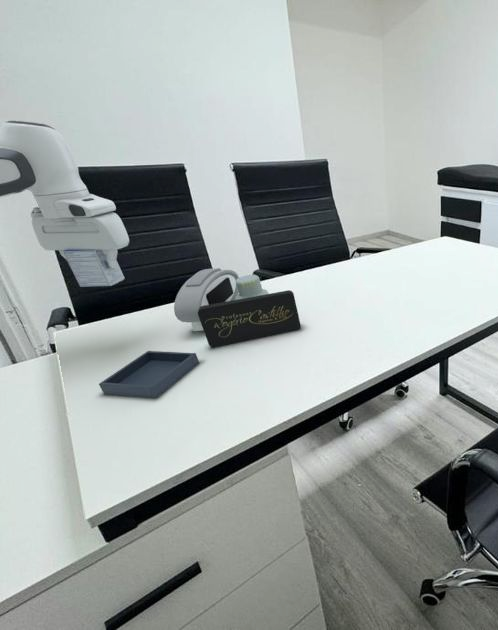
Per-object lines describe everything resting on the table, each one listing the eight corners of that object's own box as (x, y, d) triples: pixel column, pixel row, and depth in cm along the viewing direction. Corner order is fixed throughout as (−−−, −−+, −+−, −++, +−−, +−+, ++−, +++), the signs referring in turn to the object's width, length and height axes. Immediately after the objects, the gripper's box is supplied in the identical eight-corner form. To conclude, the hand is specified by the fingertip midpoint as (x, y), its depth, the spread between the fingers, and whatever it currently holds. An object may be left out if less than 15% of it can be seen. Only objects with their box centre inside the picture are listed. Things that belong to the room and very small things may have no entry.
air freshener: (275, 315, 104) (266, 281, 100) (242, 323, 101) (232, 288, 96) (268, 301, 113) (260, 269, 108) (238, 308, 109) (228, 275, 105)
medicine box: (125, 279, 91) (110, 243, 87) (110, 286, 87) (94, 249, 83) (95, 280, 92) (79, 244, 88) (79, 287, 88) (61, 250, 84)
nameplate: (209, 348, 90) (196, 310, 86) (210, 344, 92) (197, 306, 87) (301, 329, 96) (293, 292, 92) (300, 325, 98) (292, 289, 93)
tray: (103, 394, 76) (98, 384, 75) (152, 360, 87) (147, 350, 86) (156, 398, 74) (151, 387, 73) (199, 362, 85) (195, 353, 84)
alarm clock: (208, 336, 96) (191, 289, 90) (184, 337, 96) (165, 290, 90) (245, 298, 116) (233, 257, 110) (225, 299, 116) (212, 258, 111)
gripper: (12, 210, 81) (44, 272, 87) (94, 207, 77) (122, 272, 83) (42, 204, 86) (71, 263, 92) (120, 201, 83) (145, 263, 89)
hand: (96, 267), depth 88 cm, fingers closed on medicine box, 8 cm apart
